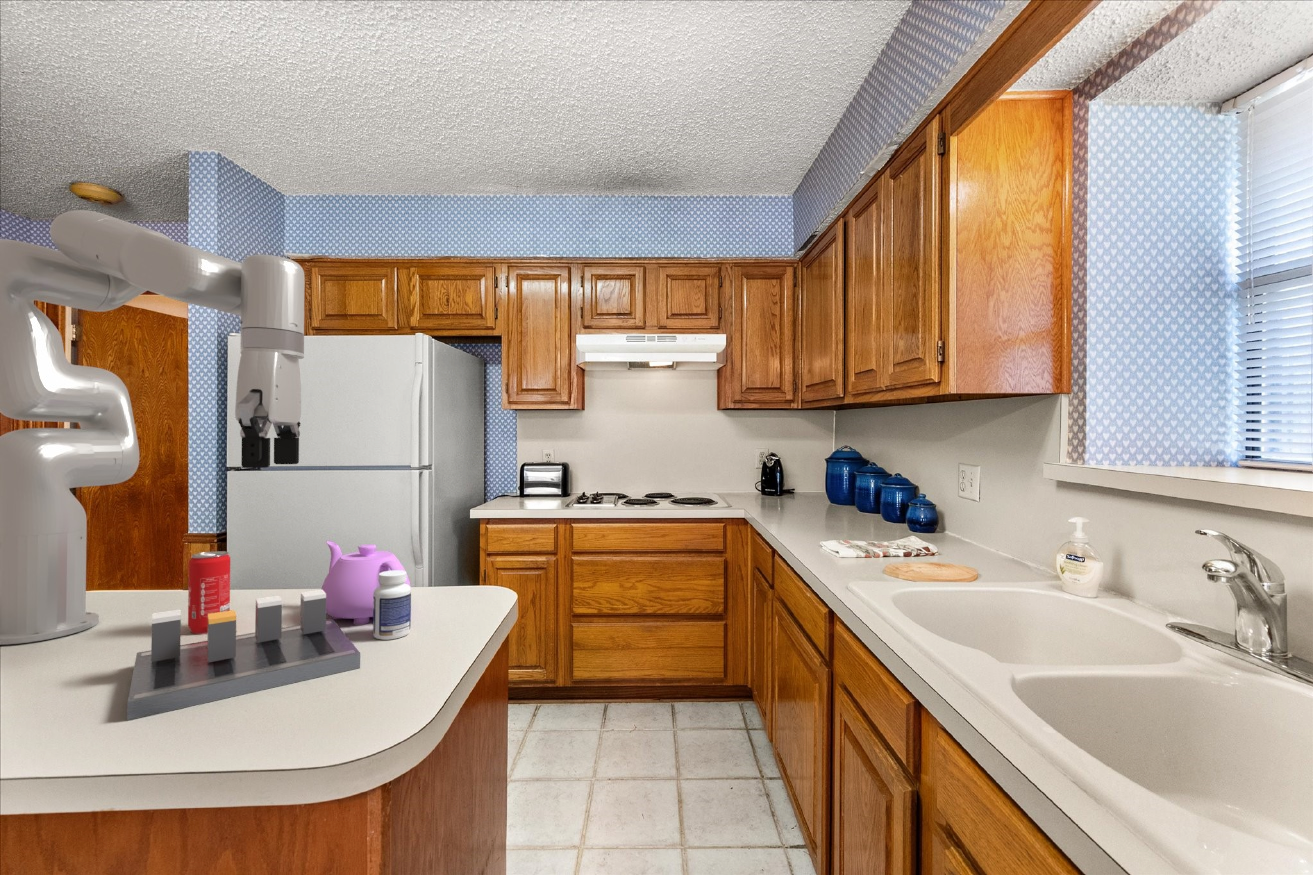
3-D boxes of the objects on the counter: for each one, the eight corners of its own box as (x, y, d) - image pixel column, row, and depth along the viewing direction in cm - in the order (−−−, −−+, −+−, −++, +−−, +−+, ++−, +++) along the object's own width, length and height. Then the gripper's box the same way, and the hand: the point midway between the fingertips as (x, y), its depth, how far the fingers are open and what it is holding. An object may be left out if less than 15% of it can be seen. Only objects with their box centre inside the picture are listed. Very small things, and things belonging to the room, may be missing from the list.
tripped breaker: (207, 655, 74) (207, 613, 74) (234, 650, 76) (234, 609, 76) (208, 662, 72) (208, 619, 72) (235, 657, 74) (236, 615, 74)
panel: (136, 667, 76) (136, 652, 76) (332, 631, 90) (332, 618, 90) (127, 720, 62) (127, 701, 62) (360, 667, 77) (360, 652, 77)
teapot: (287, 615, 98) (288, 545, 98) (363, 596, 111) (364, 533, 111) (361, 636, 89) (362, 558, 89) (435, 612, 101) (436, 543, 101)
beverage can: (206, 636, 88) (207, 558, 88) (179, 633, 89) (180, 556, 89) (237, 625, 93) (238, 551, 93) (211, 622, 94) (212, 550, 94)
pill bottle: (418, 632, 91) (419, 571, 91) (389, 642, 86) (390, 578, 86) (394, 626, 93) (394, 567, 93) (365, 637, 88) (365, 574, 88)
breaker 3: (300, 628, 85) (300, 592, 85) (321, 624, 86) (322, 589, 86) (303, 634, 82) (304, 596, 82) (325, 630, 84) (326, 593, 84)
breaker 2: (255, 636, 81) (255, 598, 81) (278, 632, 83) (279, 595, 83) (257, 642, 79) (257, 603, 79) (281, 638, 81) (282, 600, 81)
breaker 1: (152, 654, 74) (152, 613, 74) (180, 649, 76) (180, 609, 76) (151, 661, 72) (151, 619, 72) (180, 656, 74) (180, 614, 74)
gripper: (270, 353, 89) (269, 463, 89) (209, 333, 72) (208, 469, 72) (323, 355, 90) (322, 463, 90) (276, 336, 74) (274, 469, 74)
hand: (272, 465), depth 81 cm, fingers open, 9 cm apart
